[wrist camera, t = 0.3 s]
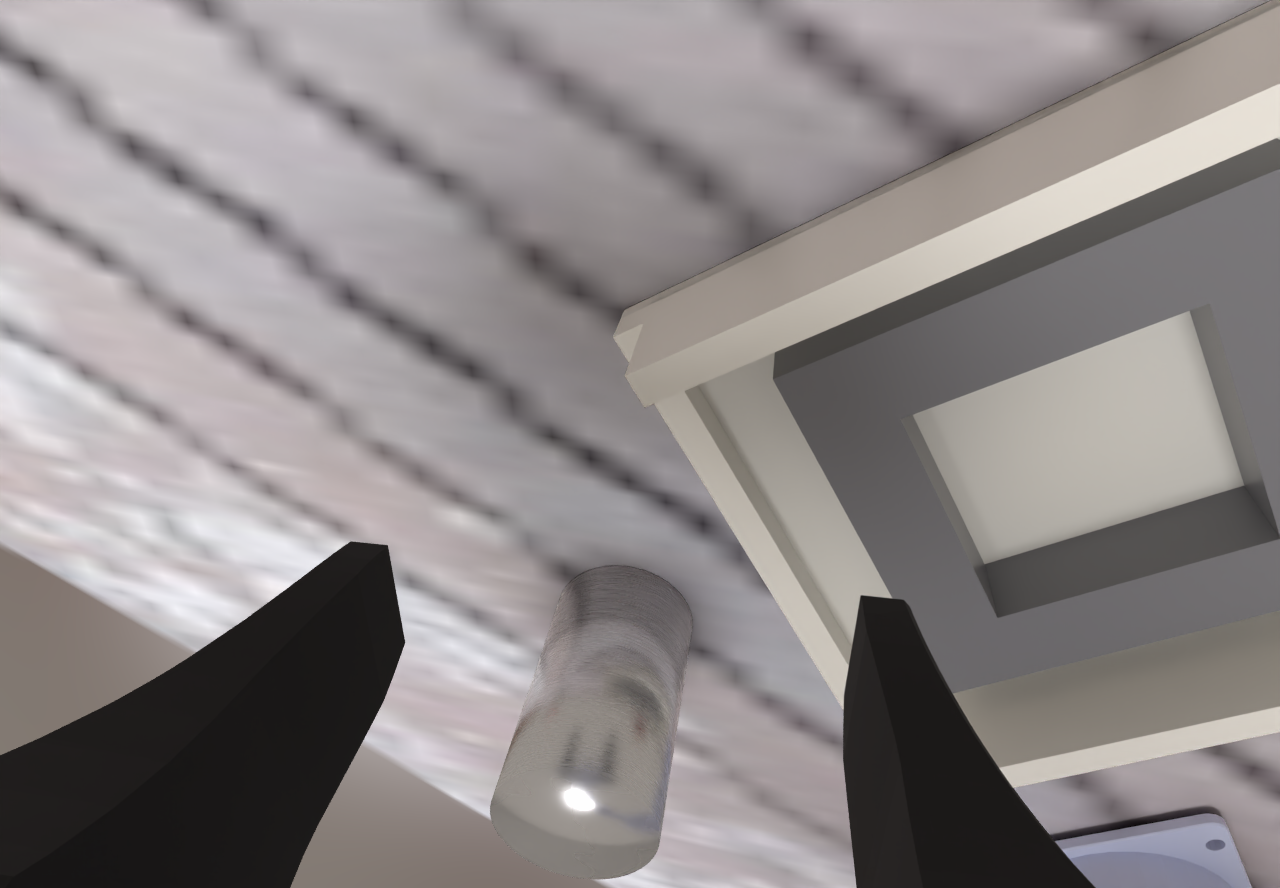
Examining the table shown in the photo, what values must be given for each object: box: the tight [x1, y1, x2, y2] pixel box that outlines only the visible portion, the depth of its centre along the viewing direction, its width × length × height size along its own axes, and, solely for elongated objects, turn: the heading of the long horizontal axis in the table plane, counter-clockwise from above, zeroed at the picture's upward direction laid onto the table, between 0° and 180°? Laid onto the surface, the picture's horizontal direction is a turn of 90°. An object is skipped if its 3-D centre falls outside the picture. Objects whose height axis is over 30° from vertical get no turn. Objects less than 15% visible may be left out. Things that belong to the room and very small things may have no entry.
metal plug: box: [490, 566, 693, 879], centre depth 24 cm, size 4×4×7 cm
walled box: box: [613, 0, 1280, 788], centre depth 20 cm, size 14×16×4 cm
